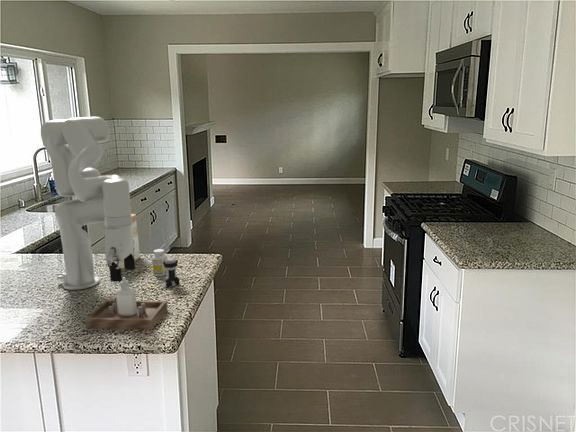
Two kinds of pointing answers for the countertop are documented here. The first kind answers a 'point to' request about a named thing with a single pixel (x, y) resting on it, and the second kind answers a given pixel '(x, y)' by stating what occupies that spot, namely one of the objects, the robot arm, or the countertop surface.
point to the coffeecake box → (135, 238)
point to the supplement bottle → (159, 262)
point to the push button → (171, 272)
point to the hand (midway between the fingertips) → (123, 275)
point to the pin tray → (142, 320)
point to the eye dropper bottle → (126, 299)
